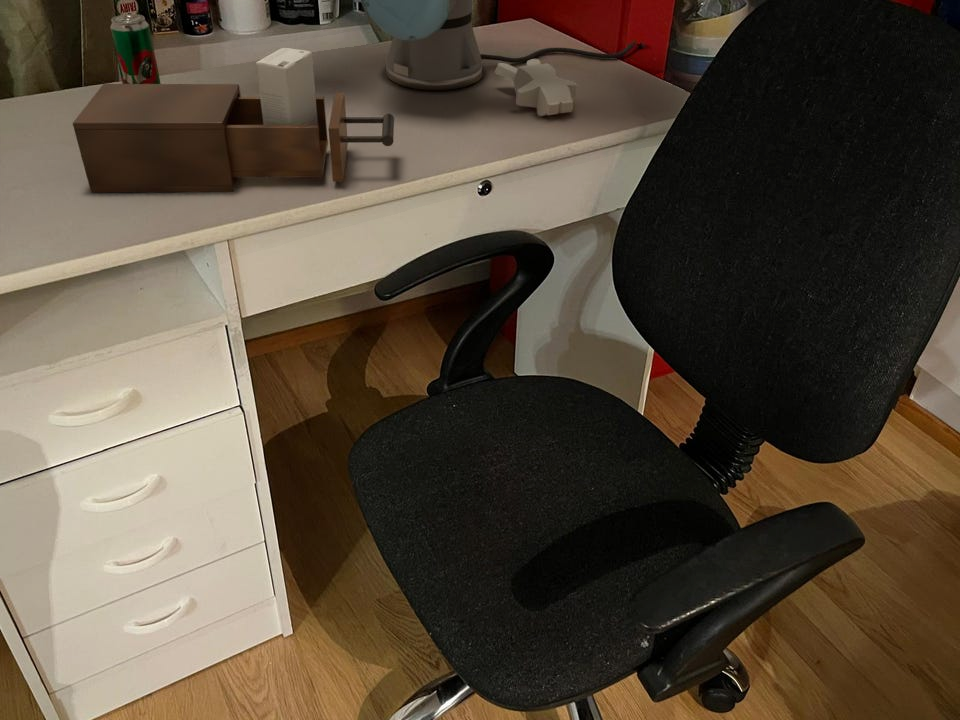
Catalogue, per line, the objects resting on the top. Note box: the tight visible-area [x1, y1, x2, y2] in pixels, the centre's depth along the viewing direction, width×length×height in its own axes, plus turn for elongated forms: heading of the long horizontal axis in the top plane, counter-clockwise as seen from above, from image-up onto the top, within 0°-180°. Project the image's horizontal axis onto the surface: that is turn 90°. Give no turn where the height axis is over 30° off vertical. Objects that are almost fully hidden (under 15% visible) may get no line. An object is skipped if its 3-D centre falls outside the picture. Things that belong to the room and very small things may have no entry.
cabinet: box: [72, 83, 242, 193], centre depth 105 cm, size 17×13×9 cm
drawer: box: [224, 92, 395, 183], centre depth 106 cm, size 22×11×7 cm, turn 94°
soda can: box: [109, 13, 162, 84], centre depth 121 cm, size 5×5×12 cm
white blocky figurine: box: [494, 58, 578, 117], centre depth 128 cm, size 10×5×15 cm
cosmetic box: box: [255, 47, 318, 125], centre depth 104 cm, size 6×4×12 cm
